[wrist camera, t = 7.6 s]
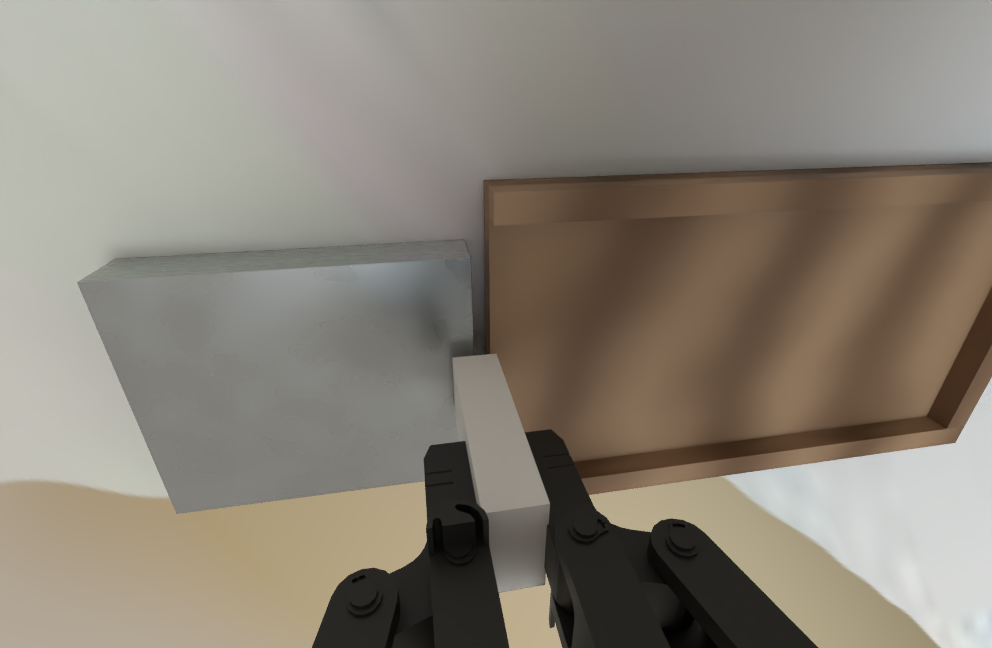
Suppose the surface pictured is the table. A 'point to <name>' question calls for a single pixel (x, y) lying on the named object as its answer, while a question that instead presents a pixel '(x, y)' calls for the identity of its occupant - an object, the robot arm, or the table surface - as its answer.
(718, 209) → the brown wooden tray
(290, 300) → the cover plate
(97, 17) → the table surface
